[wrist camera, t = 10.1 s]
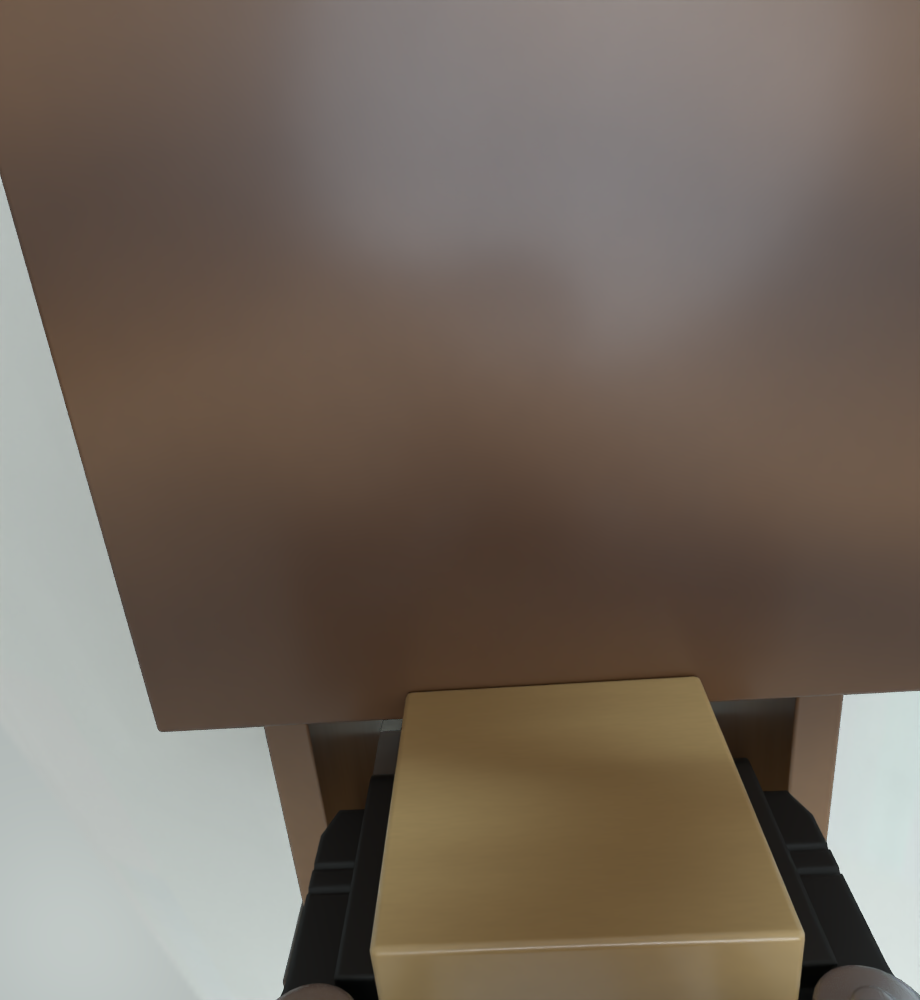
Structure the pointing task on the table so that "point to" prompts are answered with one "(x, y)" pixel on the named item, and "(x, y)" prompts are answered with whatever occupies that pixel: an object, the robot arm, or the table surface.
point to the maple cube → (577, 852)
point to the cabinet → (483, 339)
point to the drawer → (369, 751)
